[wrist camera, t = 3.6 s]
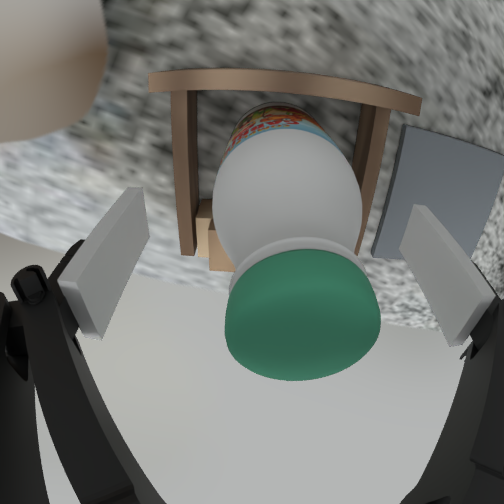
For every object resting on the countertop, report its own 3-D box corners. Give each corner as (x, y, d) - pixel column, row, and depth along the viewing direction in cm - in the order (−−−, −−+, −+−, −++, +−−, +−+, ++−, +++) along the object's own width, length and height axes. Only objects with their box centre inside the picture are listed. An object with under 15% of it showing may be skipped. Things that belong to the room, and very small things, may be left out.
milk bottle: (340, 139, 24) (469, 318, 7) (283, 201, 27) (305, 418, 11) (268, 82, 21) (292, 149, 5) (213, 153, 25) (128, 352, 9)
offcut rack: (377, 85, 20) (422, 98, 14) (346, 243, 30) (366, 298, 23) (182, 68, 20) (148, 73, 14) (188, 234, 30) (169, 288, 23)
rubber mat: (503, 155, 22) (507, 158, 22) (465, 259, 30) (468, 262, 30) (403, 124, 22) (406, 126, 22) (370, 253, 30) (372, 257, 30)
